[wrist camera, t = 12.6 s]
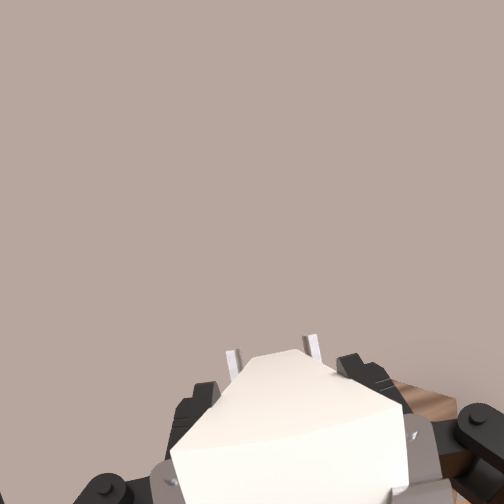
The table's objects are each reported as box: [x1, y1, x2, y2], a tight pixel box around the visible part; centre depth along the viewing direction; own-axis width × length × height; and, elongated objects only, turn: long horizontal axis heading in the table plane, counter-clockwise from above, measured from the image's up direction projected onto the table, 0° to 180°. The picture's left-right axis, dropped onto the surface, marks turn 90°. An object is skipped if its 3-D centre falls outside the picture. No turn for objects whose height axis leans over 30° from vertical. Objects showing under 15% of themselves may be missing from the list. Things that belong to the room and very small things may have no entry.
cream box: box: [170, 349, 409, 504], centre depth 17 cm, size 26×4×3 cm, turn 177°
